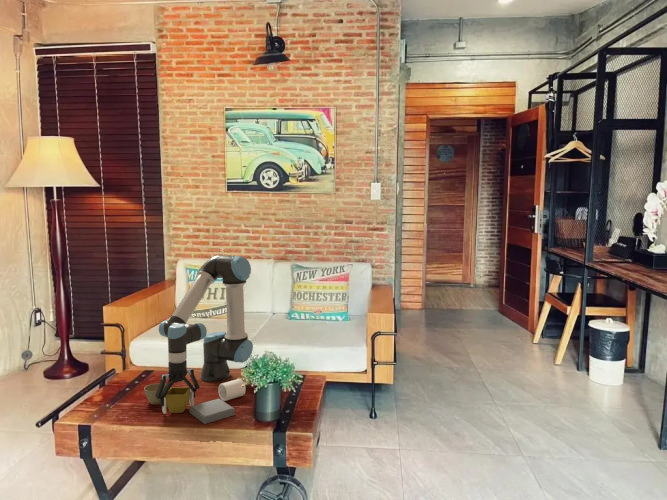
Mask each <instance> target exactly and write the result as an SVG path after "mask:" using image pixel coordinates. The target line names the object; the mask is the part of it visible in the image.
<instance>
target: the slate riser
mask: <svg viewBox="0 0 667 500" xmlns="http://www.w3.org/2000/svg"><path fill="white" fill-rule="evenodd" d="M235 410H236V409H235V408H234V407H233V406H231V405H230V404H228V403H226V401H223V400H221V398H216V399H213V400H209V401H205V402H201V403H198V404H194V406H191V405H190V406H189V414H191V415H192V416H193V417H195V418H196V419H197V420H199V422H201V423H202V424H204V425H207V424H210V423H212V422H216V421H219V420H222V419H225V418H228V417H231V416H232V417H233V416H235V415H236V414H235V413H236V412H235Z"/></svg>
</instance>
